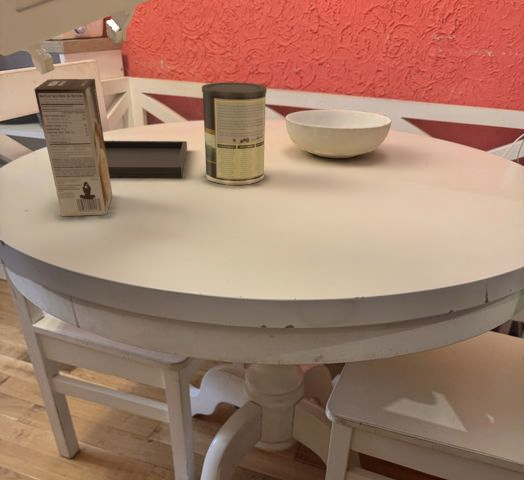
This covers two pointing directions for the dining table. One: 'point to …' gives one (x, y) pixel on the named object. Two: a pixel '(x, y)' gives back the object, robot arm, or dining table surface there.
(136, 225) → the dining table surface
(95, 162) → the coffee box
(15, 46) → the robot arm
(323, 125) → the serving bowl
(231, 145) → the coffee can
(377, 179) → the dining table surface
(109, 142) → the tray
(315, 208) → the dining table surface
